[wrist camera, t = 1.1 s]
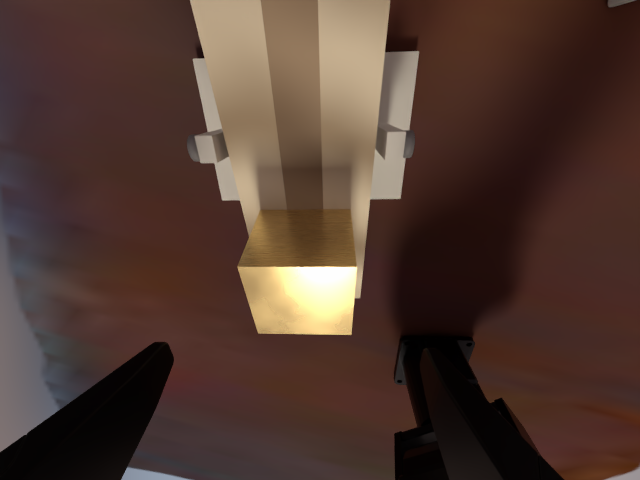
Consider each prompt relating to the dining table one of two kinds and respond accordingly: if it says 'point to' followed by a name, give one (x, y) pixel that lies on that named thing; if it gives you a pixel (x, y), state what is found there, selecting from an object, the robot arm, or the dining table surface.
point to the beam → (298, 101)
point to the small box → (618, 2)
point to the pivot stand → (390, 138)
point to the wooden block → (301, 271)
